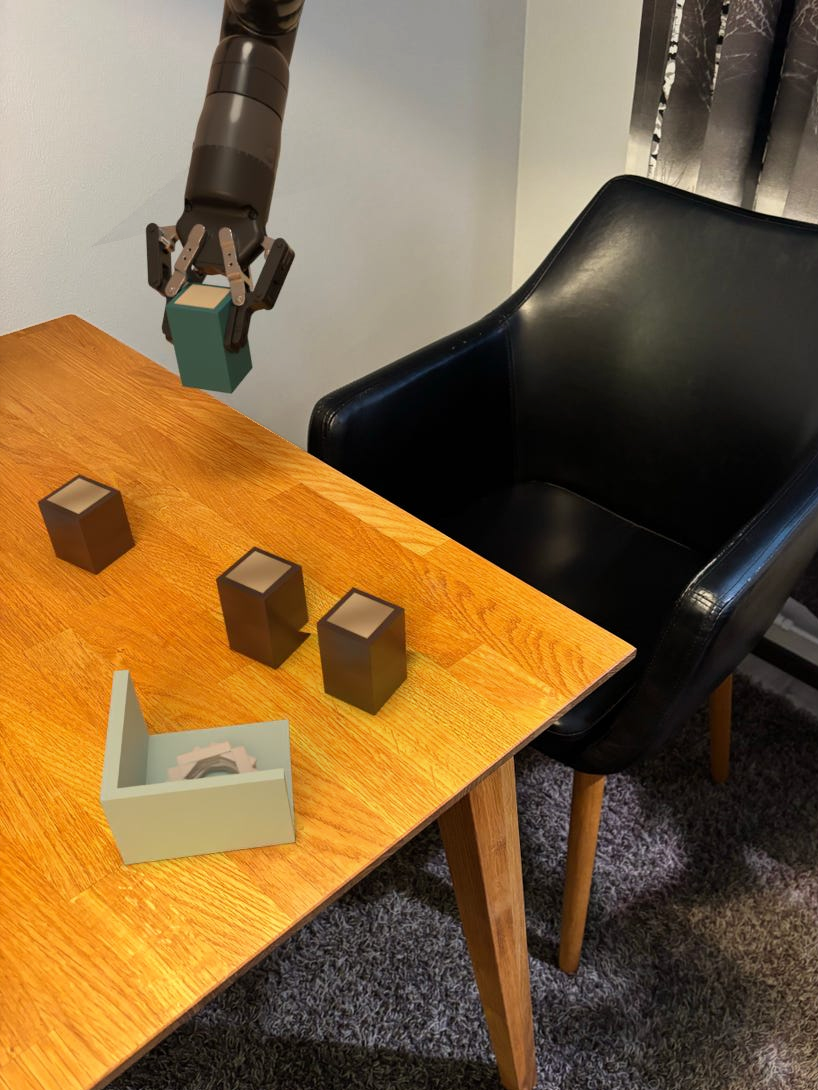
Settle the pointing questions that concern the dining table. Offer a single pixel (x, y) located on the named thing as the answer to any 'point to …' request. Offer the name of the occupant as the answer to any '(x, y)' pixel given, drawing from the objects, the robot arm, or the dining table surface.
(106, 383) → the dining table surface
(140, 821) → the l-shaped corner panel
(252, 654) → the walnut block
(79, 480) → the walnut block
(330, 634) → the walnut block
